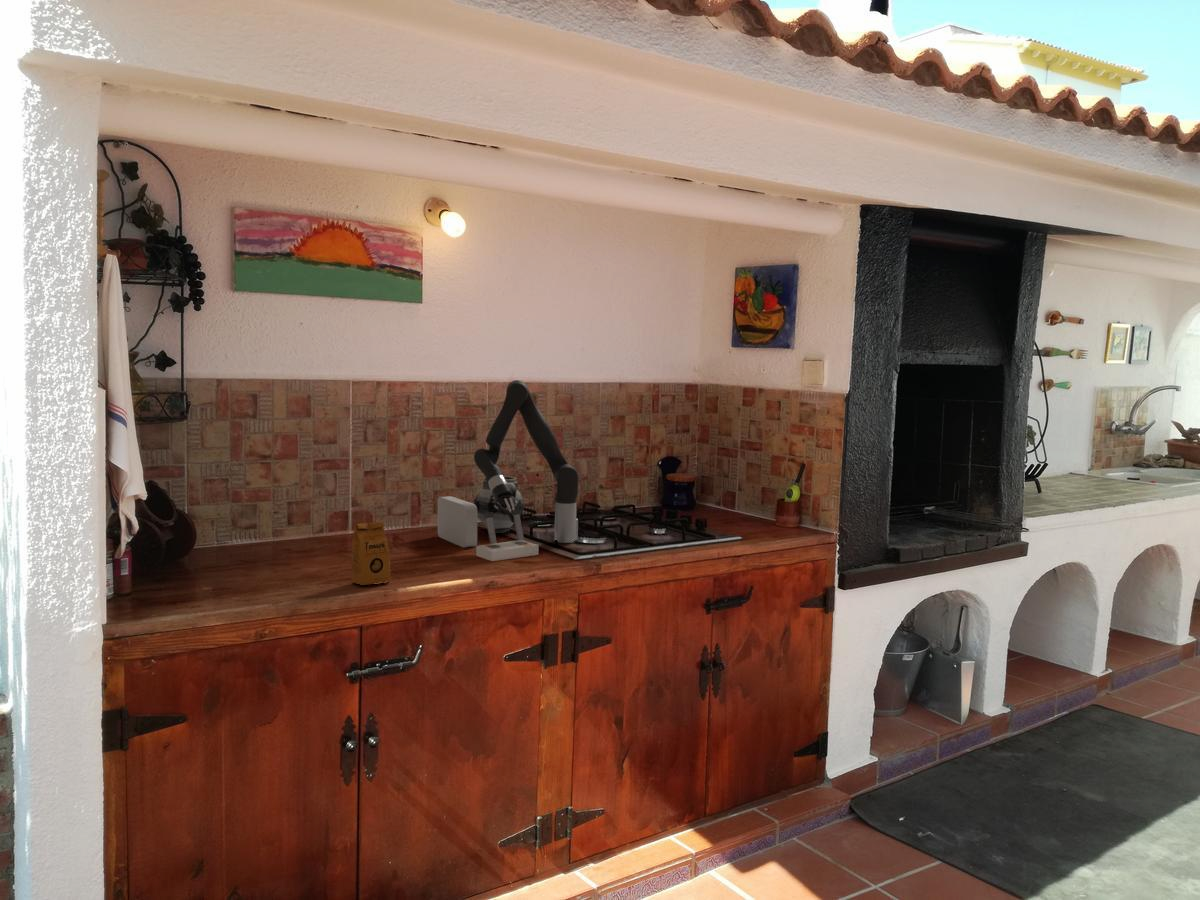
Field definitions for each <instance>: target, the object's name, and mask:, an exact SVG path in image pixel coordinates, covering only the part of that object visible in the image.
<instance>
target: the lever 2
mask: <svg viewBox="0 0 1200 900" xmlns="http://www.w3.org/2000/svg"><path fill="white" fill-rule="evenodd" d="M520 514H521V515H522V513H521V510H520V509H517V510H512V511H511V515H512V516H514V522H515V523H514V527H515V533H516V538H517V541H519V540H524V541H525V538H524V537H525V536H524V531H523V527H522V521H521V515H520Z"/></svg>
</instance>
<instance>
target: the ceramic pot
mask: <svg viewBox="0 0 1200 900" xmlns="http://www.w3.org/2000/svg"><path fill="white" fill-rule="evenodd" d="M503 476H504V478H505V479H506V481H507V483H508V485H509V487H510V490H511V492H512V496H513V497H514V498H515V500H516V501H521V505H520V508H519V509H520V510H521V514H520V516H521V515H522V514H523V511H524V509H525V501H524V498H523V496H522V494H521V492H520V491H519V489H518V480H517V478H516V477H513V476H510V475H509V476H508V475H503ZM473 504H475V505H476V507H477V519H479V521H480V522H481V523H482V525H484V526H485V527H486V529H487V532H488V527H487V521H486V519H484V514H485V513H488V512H493V514H494V517H492V518H493V524H494V530H495V534H496V533H497V534H498V533H499V534H500V533H501V534H503V533H504V534H505V533H508V532H509V531H510V530H511V529H510V528H511V527H512V526H513V525H515V523H513V522H511V520H510V518H509V516H508V515H503V514H502V513H500V512H499V511H497V510H496V509H495V508H494V506H495V504H496V500H495V498H494V496H493V494H492V491H491V489H490V487H489V483H488V481H487V479H486V477H485V479H484V480H483V482H482V488H481V490H479V491H478V492H477V494H476V495H475V497H474V500H473ZM514 506H515V503H514ZM515 507H516V506H515ZM515 507H514V508H515ZM502 511H503V510H502ZM507 531H508V532H507Z"/></svg>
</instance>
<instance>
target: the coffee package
mask: <svg viewBox="0 0 1200 900" xmlns="http://www.w3.org/2000/svg"><path fill="white" fill-rule="evenodd" d="M384 526H385V522H384V520H383V521H374V522H363V523H355V525H354V529H353V535H352V541H351V582H352V581H353V582H354V583H353V584H355V583H356V585H357V584H360V585H366V584H374V583H379V582H386V581H389V582H390V580H391V559H390V547H389V543H388V539H387V536H386V532H385V528H384ZM360 585H359V586H360Z"/></svg>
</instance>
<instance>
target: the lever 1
mask: <svg viewBox="0 0 1200 900" xmlns="http://www.w3.org/2000/svg"><path fill="white" fill-rule="evenodd" d="M492 517H494V514H493V512H488V513H485V514H484V519H486V521H487V527H488V531H487V532H488V538H489V544H495V543H498V541H497V537H496V533H495V530H494V524H493V518H492ZM487 527H486V528H487Z"/></svg>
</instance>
